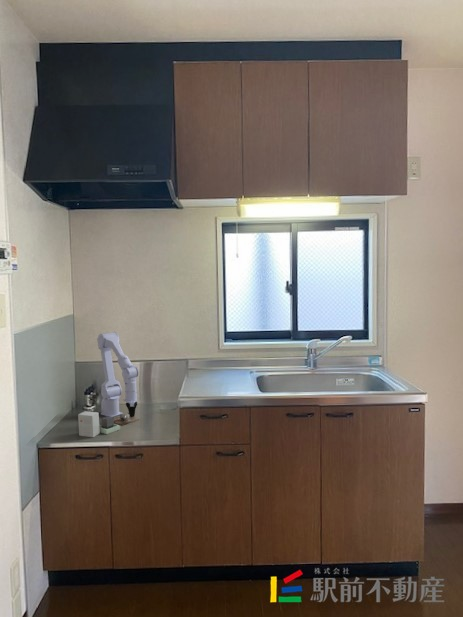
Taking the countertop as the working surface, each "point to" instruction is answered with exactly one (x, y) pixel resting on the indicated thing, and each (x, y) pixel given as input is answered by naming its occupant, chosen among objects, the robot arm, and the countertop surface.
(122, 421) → the crank base
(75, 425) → the countertop surface
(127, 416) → the crank
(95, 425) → the small box
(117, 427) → the tray
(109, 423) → the block
